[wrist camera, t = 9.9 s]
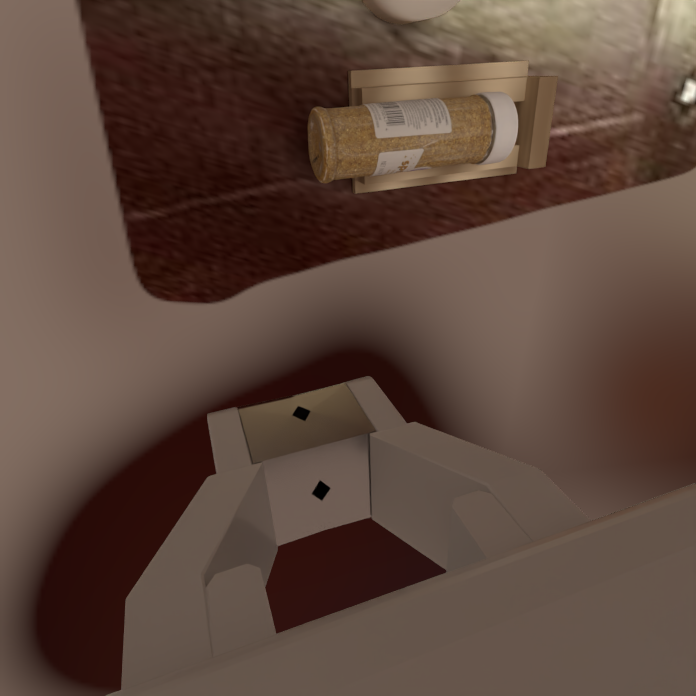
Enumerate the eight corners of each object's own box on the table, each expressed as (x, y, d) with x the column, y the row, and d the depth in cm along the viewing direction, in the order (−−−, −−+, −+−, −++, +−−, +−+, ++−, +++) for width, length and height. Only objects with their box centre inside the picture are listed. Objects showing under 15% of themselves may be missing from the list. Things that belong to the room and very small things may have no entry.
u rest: (352, 192, 38) (372, 203, 34) (347, 70, 34) (369, 70, 30) (511, 172, 41) (543, 180, 38) (523, 60, 37) (560, 59, 34)
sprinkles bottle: (325, 195, 31) (511, 172, 35) (324, 118, 28) (528, 101, 32) (306, 168, 34) (478, 149, 38) (303, 96, 31) (491, 83, 35)
